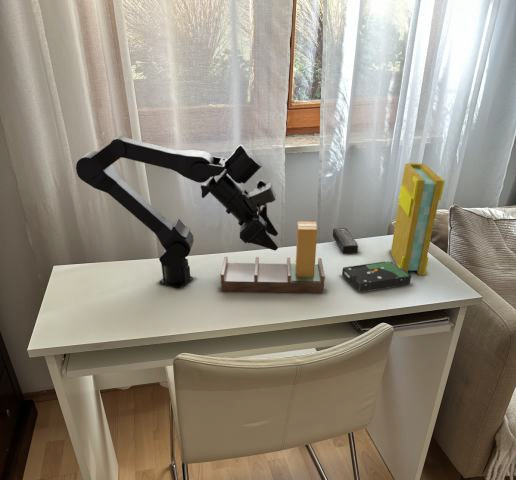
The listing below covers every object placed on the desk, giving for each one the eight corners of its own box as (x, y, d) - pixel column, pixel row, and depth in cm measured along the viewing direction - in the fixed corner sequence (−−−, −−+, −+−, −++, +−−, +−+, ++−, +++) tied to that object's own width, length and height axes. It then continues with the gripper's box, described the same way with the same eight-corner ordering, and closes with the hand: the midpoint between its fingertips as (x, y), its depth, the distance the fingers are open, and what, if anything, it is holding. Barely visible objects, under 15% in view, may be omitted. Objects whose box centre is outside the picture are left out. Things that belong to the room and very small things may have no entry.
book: (425, 274, 134) (444, 180, 120) (400, 274, 134) (416, 180, 120) (410, 249, 148) (426, 163, 134) (387, 249, 148) (401, 162, 134)
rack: (221, 291, 125) (220, 274, 123) (225, 273, 135) (224, 256, 132) (323, 293, 125) (324, 276, 122) (320, 274, 134) (321, 258, 131)
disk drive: (359, 294, 125) (410, 285, 129) (360, 284, 123) (412, 275, 127) (341, 276, 133) (389, 268, 137) (341, 267, 132) (391, 259, 135)
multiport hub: (342, 253, 146) (343, 246, 144) (332, 235, 158) (332, 228, 156) (357, 253, 146) (358, 245, 145) (345, 234, 158) (346, 227, 157)
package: (296, 276, 126) (298, 229, 119) (295, 267, 130) (297, 221, 123) (314, 277, 125) (317, 229, 118) (312, 267, 130) (315, 221, 123)
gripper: (254, 184, 106) (302, 234, 112) (257, 162, 122) (299, 207, 128) (219, 219, 111) (267, 265, 117) (226, 194, 127) (268, 236, 132)
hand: (276, 241), depth 123 cm, fingers open, 9 cm apart
